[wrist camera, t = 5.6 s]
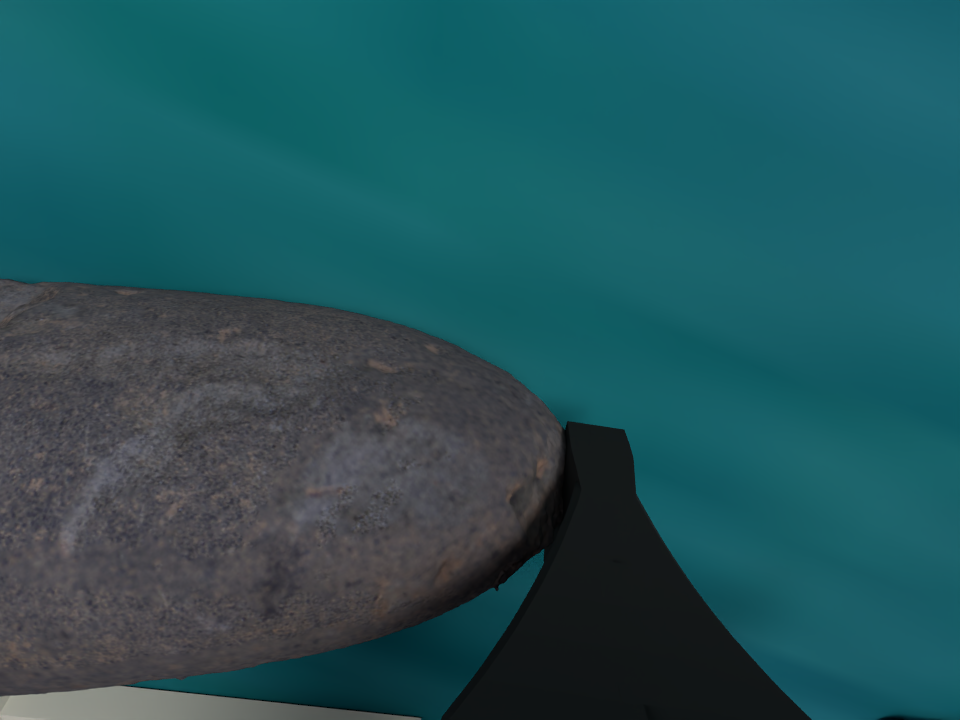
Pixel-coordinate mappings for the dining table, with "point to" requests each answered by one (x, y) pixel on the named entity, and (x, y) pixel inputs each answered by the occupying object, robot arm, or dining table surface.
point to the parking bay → (163, 707)
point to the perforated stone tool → (245, 482)
